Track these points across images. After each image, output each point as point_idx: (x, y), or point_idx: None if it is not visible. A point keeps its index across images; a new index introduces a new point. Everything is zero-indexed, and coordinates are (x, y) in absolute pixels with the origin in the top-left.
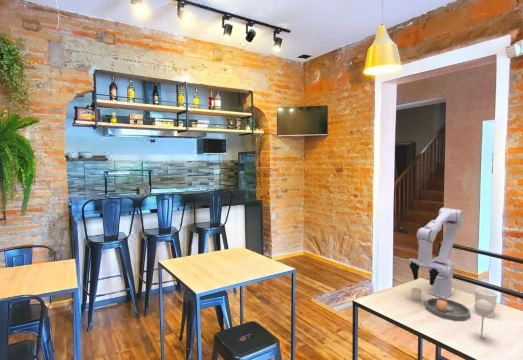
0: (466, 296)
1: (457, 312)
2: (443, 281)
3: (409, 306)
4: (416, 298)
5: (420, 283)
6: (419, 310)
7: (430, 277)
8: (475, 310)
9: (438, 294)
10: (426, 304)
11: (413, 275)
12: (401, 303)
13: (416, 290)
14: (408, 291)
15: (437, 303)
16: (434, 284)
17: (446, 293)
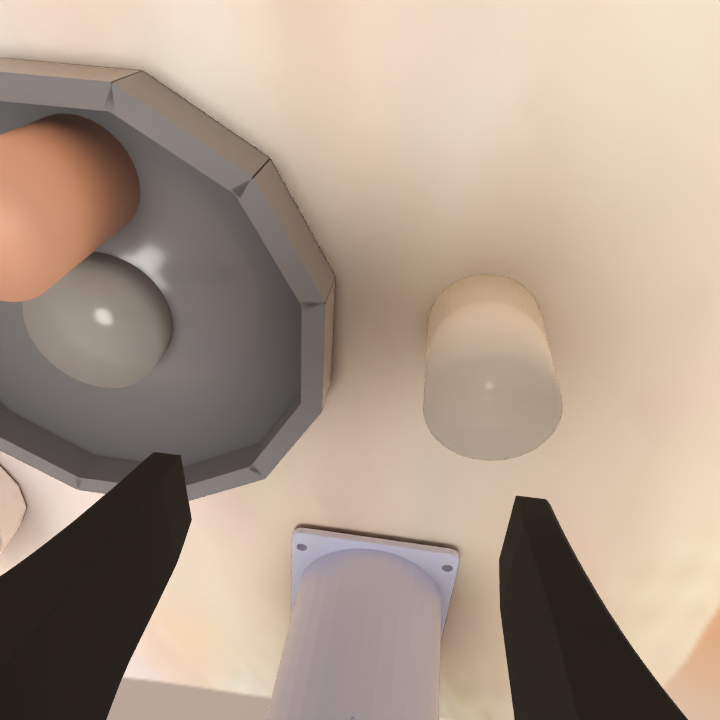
0: (221, 657)
1: (21, 328)
2: (282, 717)
3: (456, 15)
4: (461, 298)
5: None
6: (291, 13)
7: (60, 582)
8: (12, 486)
9: (348, 557)
10: (251, 179)
11: (572, 565)
12: (598, 7)
13: (477, 375)
14: (641, 462)
15: (24, 163)
16: (387, 652)
17: (295, 601)
